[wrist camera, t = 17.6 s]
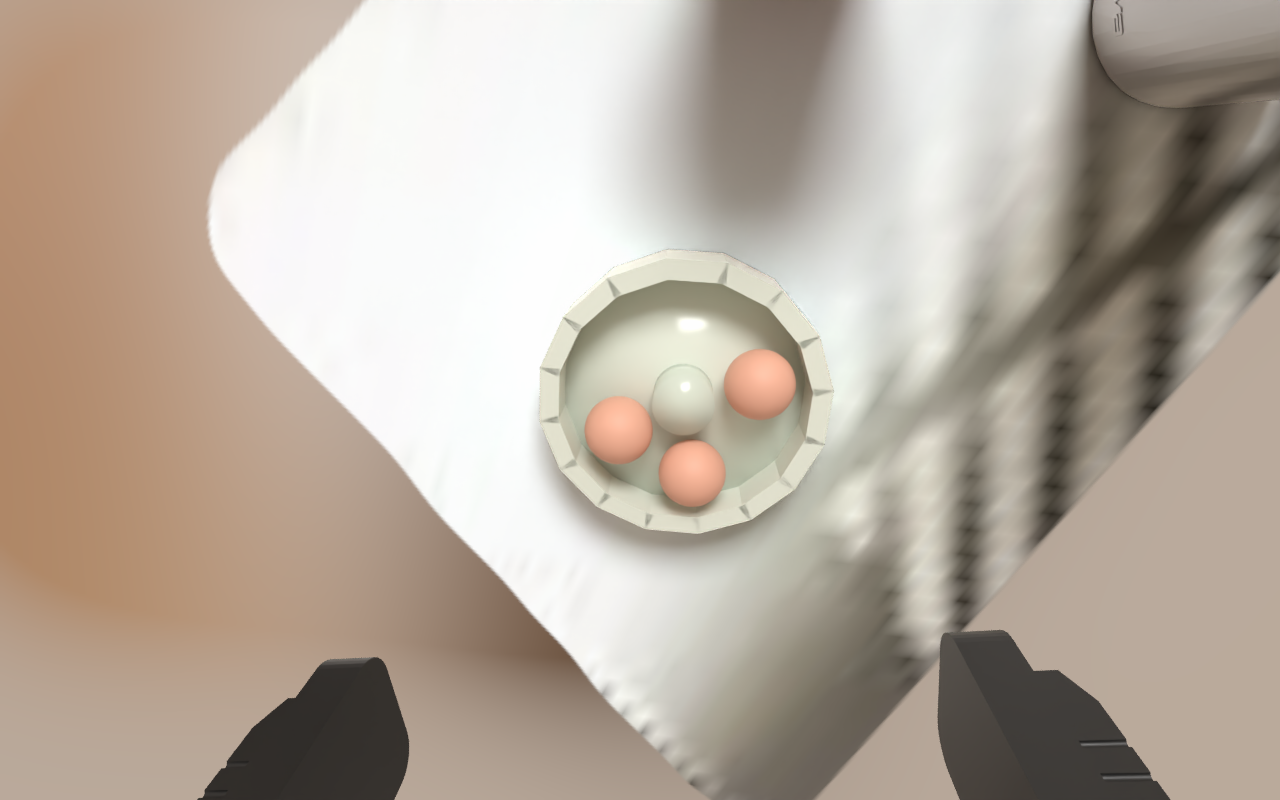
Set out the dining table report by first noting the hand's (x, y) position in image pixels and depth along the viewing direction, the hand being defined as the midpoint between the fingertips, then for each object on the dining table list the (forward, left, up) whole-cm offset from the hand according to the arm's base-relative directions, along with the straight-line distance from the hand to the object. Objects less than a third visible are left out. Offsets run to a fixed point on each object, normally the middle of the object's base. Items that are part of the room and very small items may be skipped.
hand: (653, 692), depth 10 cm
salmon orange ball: (-5, +4, -26) cm, 27 cm away
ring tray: (-1, +5, -27) cm, 28 cm away
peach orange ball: (-2, +9, -26) cm, 28 cm away
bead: (+3, +6, -26) cm, 27 cm away
